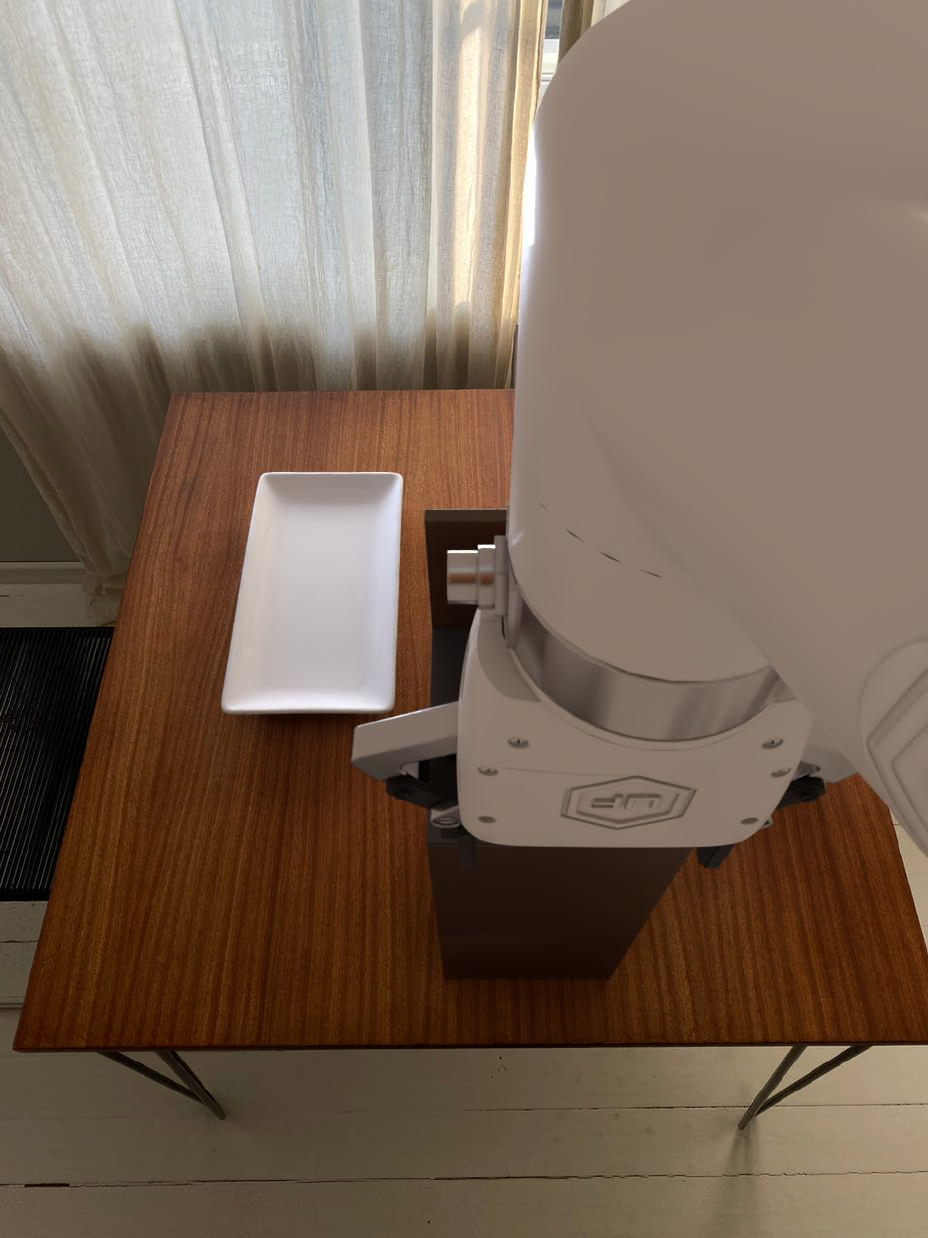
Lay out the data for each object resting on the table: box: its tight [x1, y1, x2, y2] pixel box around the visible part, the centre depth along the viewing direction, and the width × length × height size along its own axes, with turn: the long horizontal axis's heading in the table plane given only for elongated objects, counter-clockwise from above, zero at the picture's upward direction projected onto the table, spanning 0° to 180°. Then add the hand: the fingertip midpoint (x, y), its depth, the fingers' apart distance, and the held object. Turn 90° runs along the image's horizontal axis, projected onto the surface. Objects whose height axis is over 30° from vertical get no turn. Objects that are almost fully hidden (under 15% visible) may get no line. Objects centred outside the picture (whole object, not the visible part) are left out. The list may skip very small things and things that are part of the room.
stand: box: [423, 508, 694, 980], centre depth 59 cm, size 14×14×44 cm
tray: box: [220, 471, 404, 715], centre depth 94 cm, size 17×32×4 cm, turn 0°
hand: (584, 831), depth 36 cm, fingers open, 9 cm apart
